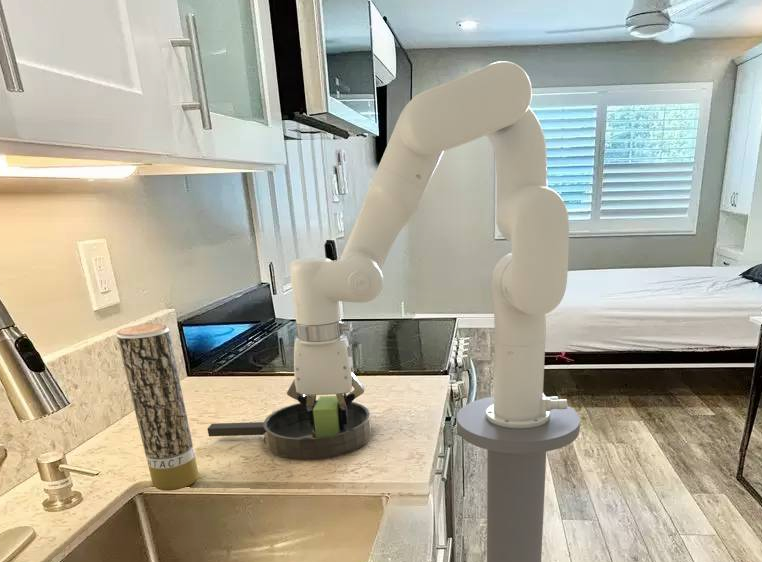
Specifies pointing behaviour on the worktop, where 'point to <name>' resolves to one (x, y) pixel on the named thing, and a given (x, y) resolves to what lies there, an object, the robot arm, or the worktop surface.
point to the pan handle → (236, 429)
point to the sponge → (326, 416)
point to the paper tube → (158, 405)
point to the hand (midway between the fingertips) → (330, 426)
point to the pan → (294, 434)
